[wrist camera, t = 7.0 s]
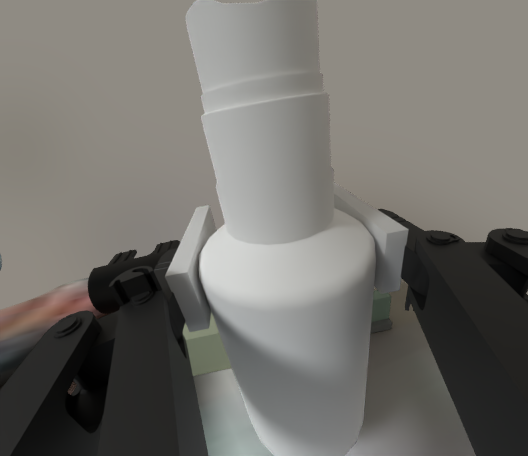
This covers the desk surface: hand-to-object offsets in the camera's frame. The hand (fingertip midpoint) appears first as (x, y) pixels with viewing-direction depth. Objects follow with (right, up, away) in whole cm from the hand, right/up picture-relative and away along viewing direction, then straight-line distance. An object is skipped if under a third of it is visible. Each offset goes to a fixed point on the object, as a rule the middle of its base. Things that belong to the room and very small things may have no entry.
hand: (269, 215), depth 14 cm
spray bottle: (+2, -11, 0) cm, 11 cm away
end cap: (-15, -10, +17) cm, 25 cm away
